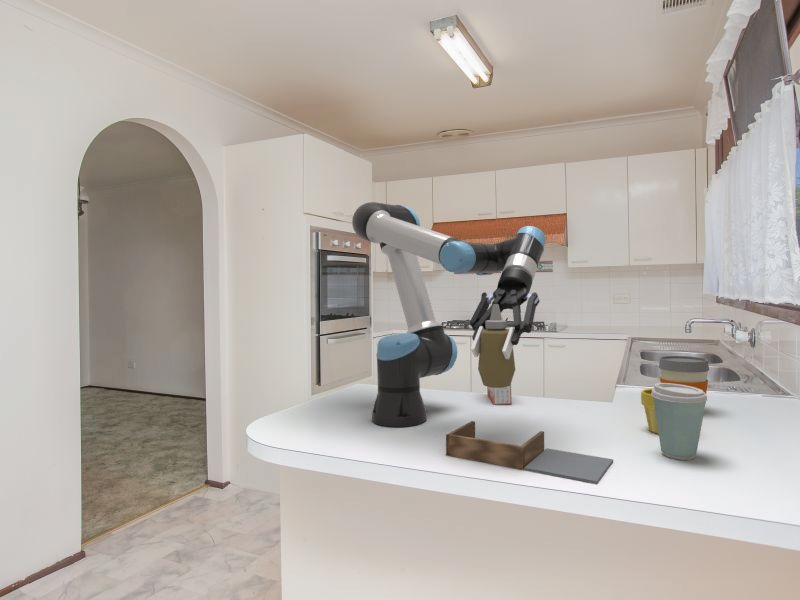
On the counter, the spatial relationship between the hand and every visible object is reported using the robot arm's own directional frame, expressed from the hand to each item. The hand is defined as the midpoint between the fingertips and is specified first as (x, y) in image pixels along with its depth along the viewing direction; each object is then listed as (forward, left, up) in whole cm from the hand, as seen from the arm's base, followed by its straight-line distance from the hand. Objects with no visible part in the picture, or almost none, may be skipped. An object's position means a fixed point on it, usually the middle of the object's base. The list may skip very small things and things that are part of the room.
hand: (489, 354), depth 111 cm
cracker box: (-20, +52, -23) cm, 60 cm away
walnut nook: (0, +4, -22) cm, 23 cm away
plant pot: (+29, +40, -23) cm, 54 cm away
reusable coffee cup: (+31, +64, -23) cm, 74 cm away
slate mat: (+16, +4, -22) cm, 28 cm away
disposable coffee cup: (+34, +22, -23) cm, 46 cm away
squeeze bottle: (0, +4, -8) cm, 8 cm away
